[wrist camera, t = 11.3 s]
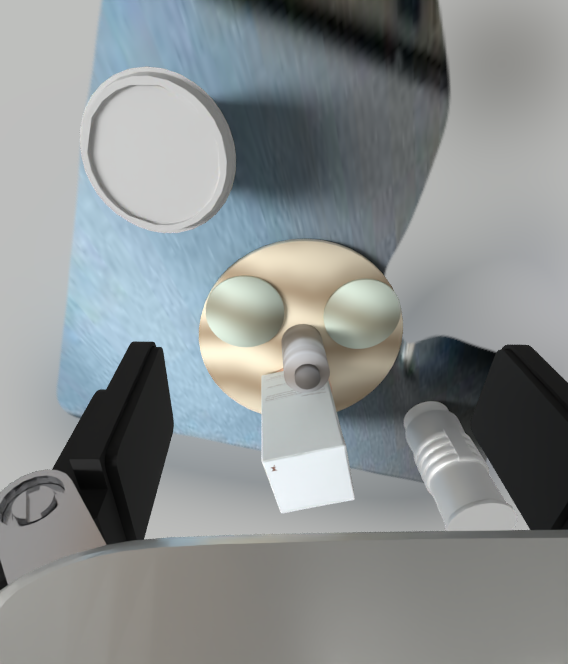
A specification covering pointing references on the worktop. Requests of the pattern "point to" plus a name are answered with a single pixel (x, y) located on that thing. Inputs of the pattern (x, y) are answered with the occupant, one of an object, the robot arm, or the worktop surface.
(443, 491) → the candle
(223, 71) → the worktop surface
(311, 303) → the carrier
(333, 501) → the supplement box
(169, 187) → the disposable coffee cup
